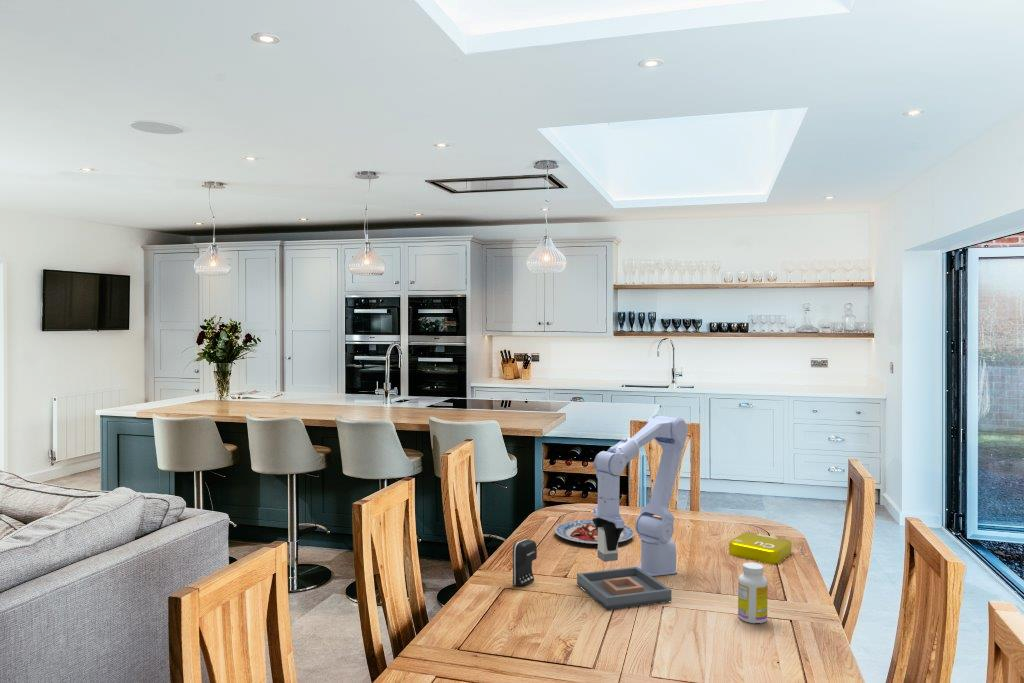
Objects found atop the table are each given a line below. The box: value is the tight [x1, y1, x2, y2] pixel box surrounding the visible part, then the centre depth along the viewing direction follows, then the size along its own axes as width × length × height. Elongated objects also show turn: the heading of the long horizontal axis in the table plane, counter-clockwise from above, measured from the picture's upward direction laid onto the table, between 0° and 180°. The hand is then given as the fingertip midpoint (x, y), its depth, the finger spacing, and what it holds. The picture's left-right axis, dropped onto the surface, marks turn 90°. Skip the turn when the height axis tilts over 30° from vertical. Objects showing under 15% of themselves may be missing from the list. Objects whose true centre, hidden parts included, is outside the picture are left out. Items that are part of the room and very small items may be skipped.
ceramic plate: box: [554, 519, 635, 545], centre depth 235 cm, size 26×26×3 cm
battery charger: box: [512, 538, 538, 587], centre depth 193 cm, size 7×4×11 cm, turn 143°
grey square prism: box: [597, 527, 619, 563], centre depth 191 cm, size 4×4×8 cm
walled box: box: [576, 566, 672, 611], centre depth 186 cm, size 18×18×3 cm
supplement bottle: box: [737, 562, 769, 624], centre depth 171 cm, size 7×7×13 cm
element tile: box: [728, 531, 792, 565], centre depth 220 cm, size 15×15×5 cm
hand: (607, 547), depth 191 cm, fingers closed on grey square prism, 4 cm apart
